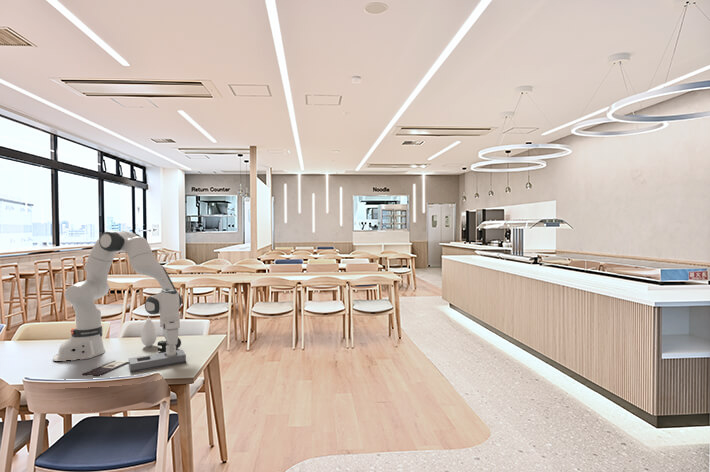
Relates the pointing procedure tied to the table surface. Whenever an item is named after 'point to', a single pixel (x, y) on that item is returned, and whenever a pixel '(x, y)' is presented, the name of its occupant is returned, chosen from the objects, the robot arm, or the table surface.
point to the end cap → (163, 344)
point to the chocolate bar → (106, 368)
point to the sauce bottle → (148, 333)
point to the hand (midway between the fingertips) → (170, 349)
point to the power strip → (156, 361)
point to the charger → (169, 351)
